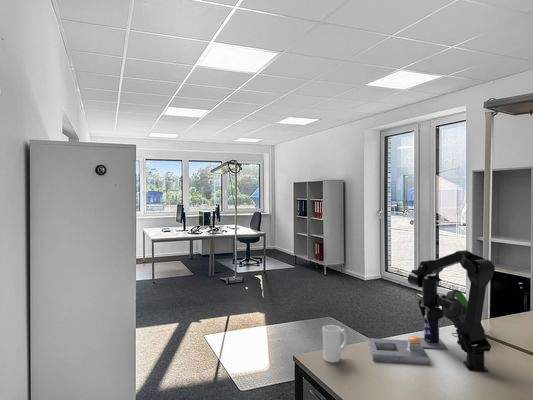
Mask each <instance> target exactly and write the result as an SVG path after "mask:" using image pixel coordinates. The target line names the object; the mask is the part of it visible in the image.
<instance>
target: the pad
mask: <svg viewBox="0 0 533 400" xmlns="http://www.w3.org/2000/svg"><path fill="white" fill-rule="evenodd" d="M419 338H420V344H421V346H422V347H423V349H427V348H433V349H432V350H447V351H448V350H449V348H448V347H447V345H446V344H445V342H443V340H442V339H441V338H439V343H437V344H436V345H431V344H428V343H426V341H425V340H424V337H419Z"/></svg>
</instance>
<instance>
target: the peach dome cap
mask: <svg viewBox="0 0 533 400" xmlns="http://www.w3.org/2000/svg"><path fill="white" fill-rule="evenodd" d="M420 338H421V337H418V336H416V335H410V336H408V338H407V340H408V342H409V343H411V344H420Z"/></svg>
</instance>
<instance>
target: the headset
mask: <svg viewBox="0 0 533 400" xmlns="http://www.w3.org/2000/svg"><path fill="white" fill-rule="evenodd" d="M445 296H446V298H447V299H448V300H450V301H451V302H452V306H451V308H450V310H449V309H447V308H445V307H442V306H441V308H440V309H441V310H442V311H443V312H444V318H446V319H448V320H449V321H450V322H452V325H453V326H454V328H455V332H452V333H451V335H453V337H456V338H458V333H457V330H458V323H459V322H463V321H465V319H466V313H467V306H468V299H467V298H466V296H465V295H464V294H463V292H461V291H460V290H458V289H454V290H450V291H448V292H447V293H446V294H445ZM456 335H457V336H456ZM456 343H458V344H460V342H459V338H458V339H457V341H456Z"/></svg>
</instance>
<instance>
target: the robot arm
mask: <svg viewBox="0 0 533 400" xmlns="http://www.w3.org/2000/svg"><path fill="white" fill-rule="evenodd" d="M456 264H457V265H458V264H460V265H461V267H462V269H464V270H465V271H466V275H467V278H468V280H469V282H470V286H469V291H468V299H467V301H468V306H467V313H466V319H465V321H463V322H459V323H458V330H457V332H456V333H458V334H457V336H458V337H457V338H459V339H458V340H459V342H460V343H459V345H460V349H461V350H462V351H463V352H464V353H466V360H465V361H464V360H463V361H462V362H463V364H464V366H465V367H466V368H467V370H469V371H471V372H488V373H489V369H488V367H487V366H486V365H485V361H486V360H485V359H486V358H485V352H491V349H492V345H491V344H490V342H489V341H488V339H487V338H486V336H485V329H484V326H483V324H482V317H483V310H484V303H485V298H486V292H487V291H486V290H487V287H488V284H489V283H490V281H492V279H493V276H494V274H495V271H496V269H495V264H494V262H492V261H491V260H489V259H486V258H484V257H482V256H480V255H477V254H474V253H473V252H471V251H469V250H466V249H465V250H457V251H455V252H453V253H450V254H447V255H445V256H442V257H439V258H436V259H429V260H421V261H420V262H419V265H418V268H417V269H411V272H410V273H409V275H408V276H407V281H408V283H409V284H410V285H412V286H414V287H418V288H421V289H422V290H421V291H420V293H421V296H422V297H418V298H417V299H416V304H417V307H418V308H419V311H420V314H421V316H422V319H424V316H425V315H426V318H427V321H428V324H429V327H430V329H431V331H434V330H435V327H436V324H437V321H438V320H439V321H440V320H441V319H443V318H445V316H444V312H443V311H442V310H441V308H442V307H445V308H447V309H449V310H450V308H451V306H452V302H451V301H450V300H448V299H447V298H446V294H443V293H442V294H439V293H438V282H441V281H442V279H441V278H440V277H439V276H438V274H439V273H441V272H442V271H443V270H444V269H446V268H448V267H451V266H454V265H456ZM436 274H437V275H436ZM440 307H441V308H440ZM425 313H426V314H425Z"/></svg>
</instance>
